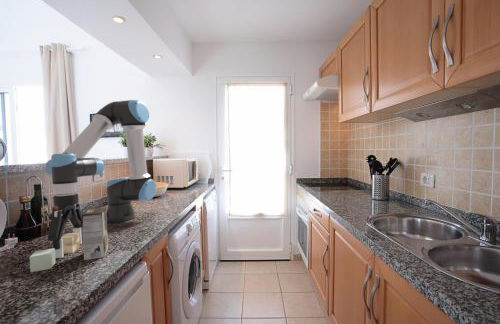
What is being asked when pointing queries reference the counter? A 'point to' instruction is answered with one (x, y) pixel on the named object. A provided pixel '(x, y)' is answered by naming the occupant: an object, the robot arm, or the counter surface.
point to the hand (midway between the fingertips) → (69, 250)
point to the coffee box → (94, 233)
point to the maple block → (70, 242)
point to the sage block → (42, 260)
